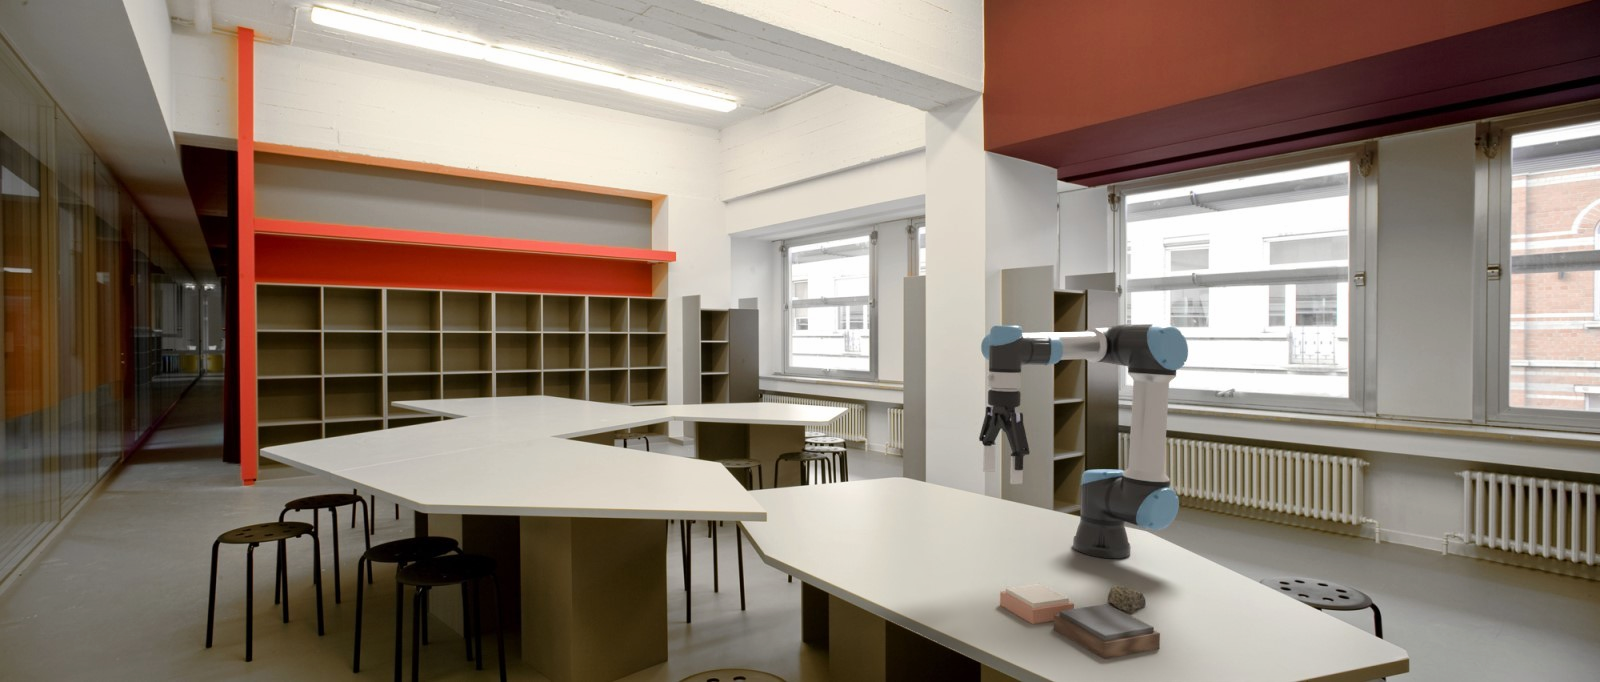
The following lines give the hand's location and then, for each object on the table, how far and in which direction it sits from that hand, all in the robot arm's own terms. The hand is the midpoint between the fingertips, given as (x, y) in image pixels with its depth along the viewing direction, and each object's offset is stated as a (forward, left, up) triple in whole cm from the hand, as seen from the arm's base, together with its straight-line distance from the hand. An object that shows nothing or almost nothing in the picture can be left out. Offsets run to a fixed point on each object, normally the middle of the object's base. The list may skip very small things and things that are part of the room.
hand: (1002, 477), depth 171 cm
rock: (-21, +19, -27) cm, 39 cm away
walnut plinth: (-3, +31, -27) cm, 41 cm away
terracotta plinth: (+1, +15, -27) cm, 30 cm away
